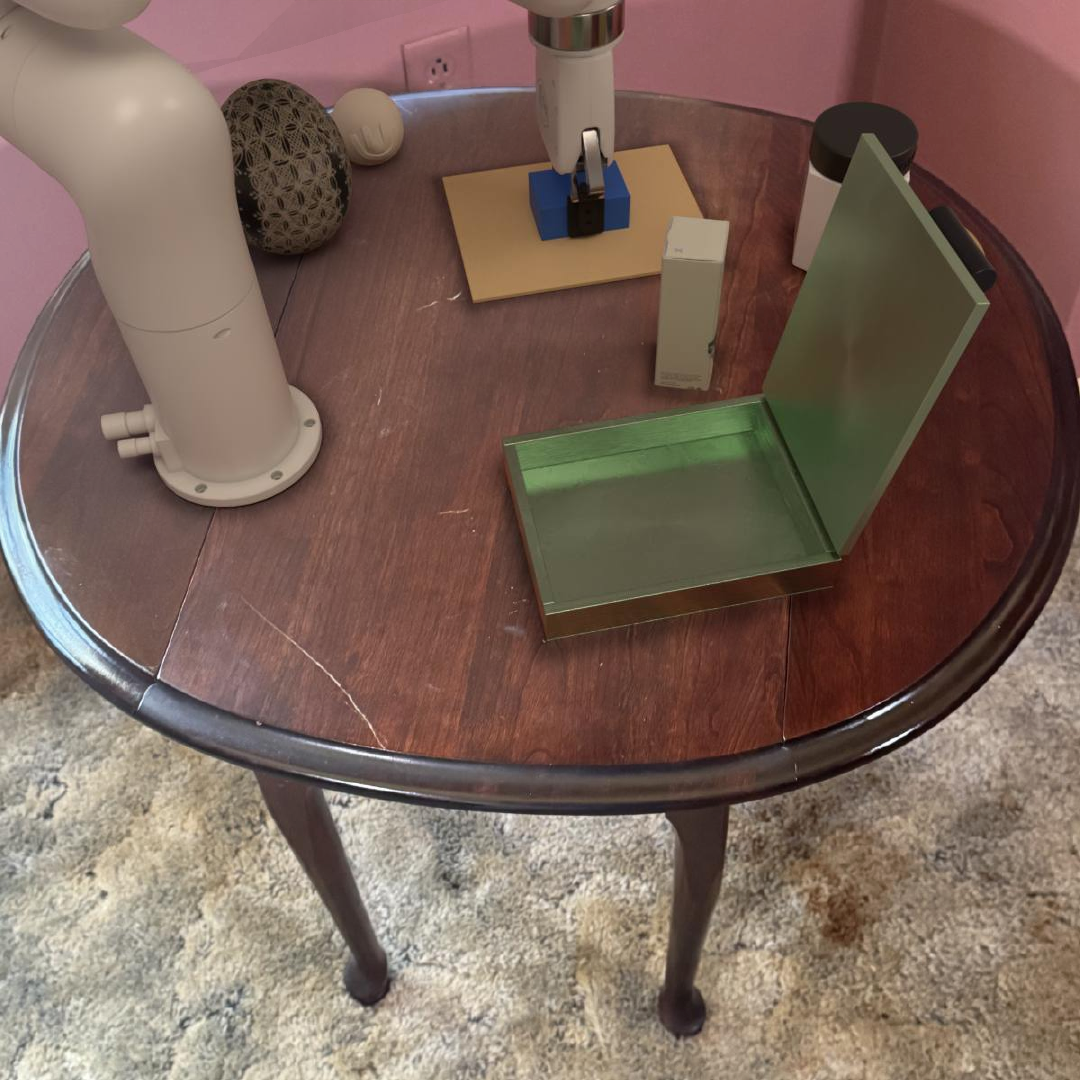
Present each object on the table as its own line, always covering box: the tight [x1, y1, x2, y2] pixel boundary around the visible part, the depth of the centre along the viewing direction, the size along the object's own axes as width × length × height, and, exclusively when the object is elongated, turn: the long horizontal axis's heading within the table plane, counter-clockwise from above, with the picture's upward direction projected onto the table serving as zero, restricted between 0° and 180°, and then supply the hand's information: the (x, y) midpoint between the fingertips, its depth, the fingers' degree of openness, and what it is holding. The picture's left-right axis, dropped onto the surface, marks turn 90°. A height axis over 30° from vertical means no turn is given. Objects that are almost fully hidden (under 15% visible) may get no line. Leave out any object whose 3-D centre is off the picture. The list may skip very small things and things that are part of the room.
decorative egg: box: [220, 78, 353, 256], centre depth 94 cm, size 12×12×15 cm
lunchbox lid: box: [761, 133, 998, 556], centre depth 69 cm, size 20×16×5 cm
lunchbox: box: [501, 392, 842, 642], centre depth 77 cm, size 20×16×4 cm
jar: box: [791, 101, 920, 272], centre depth 92 cm, size 9×8×12 cm
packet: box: [528, 160, 631, 241], centre depth 99 cm, size 8×6×3 cm
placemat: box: [441, 143, 705, 304], centre depth 100 cm, size 22×18×1 cm
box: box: [653, 216, 730, 391], centre depth 83 cm, size 5×4×13 cm
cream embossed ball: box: [330, 87, 405, 167], centre depth 105 cm, size 7×7×7 cm
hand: (578, 210), depth 100 cm, fingers closed on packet, 5 cm apart
